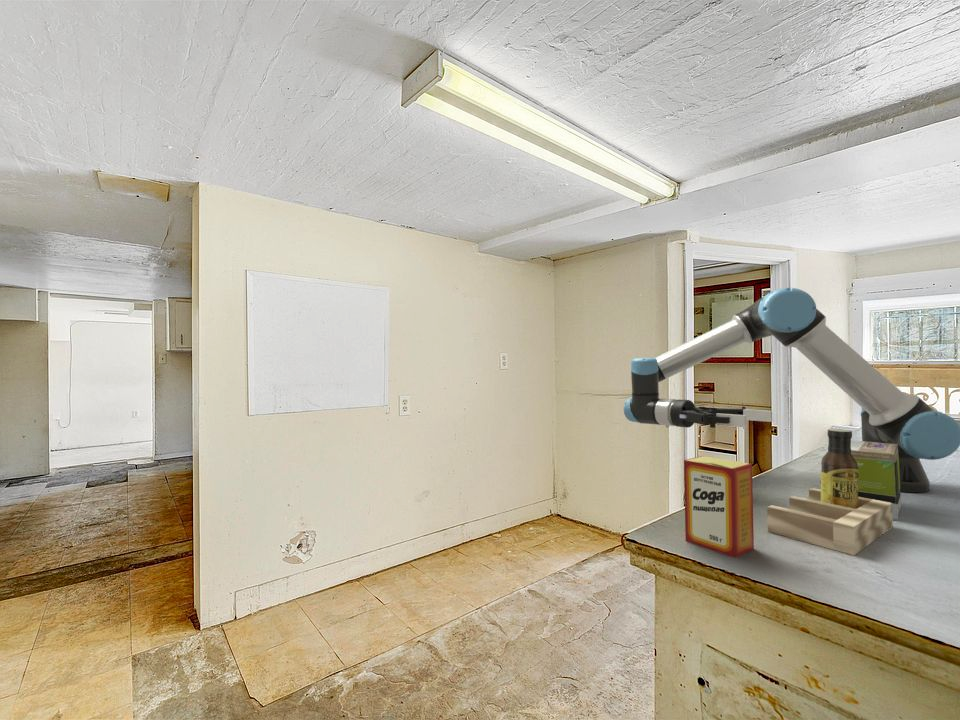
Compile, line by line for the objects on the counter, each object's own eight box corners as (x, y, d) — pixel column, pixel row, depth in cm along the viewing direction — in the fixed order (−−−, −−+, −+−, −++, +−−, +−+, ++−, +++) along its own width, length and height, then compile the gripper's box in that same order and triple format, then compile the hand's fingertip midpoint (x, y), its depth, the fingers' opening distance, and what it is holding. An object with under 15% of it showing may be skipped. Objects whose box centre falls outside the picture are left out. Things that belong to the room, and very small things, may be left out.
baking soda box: (685, 540, 87) (683, 458, 87) (703, 533, 90) (702, 454, 91) (735, 557, 79) (734, 466, 79) (753, 548, 82) (751, 462, 83)
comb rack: (812, 509, 104) (812, 488, 104) (892, 527, 92) (892, 502, 92) (767, 531, 91) (767, 506, 91) (854, 555, 79) (853, 526, 79)
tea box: (847, 497, 113) (845, 438, 113) (901, 505, 106) (900, 443, 106) (838, 511, 102) (837, 447, 103) (898, 522, 95) (896, 452, 95)
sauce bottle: (834, 529, 92) (832, 432, 92) (814, 518, 98) (811, 427, 98) (867, 529, 91) (865, 431, 91) (844, 518, 97) (842, 427, 98)
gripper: (700, 422, 131) (782, 429, 114) (650, 431, 117) (733, 440, 100) (699, 396, 131) (780, 399, 114) (649, 402, 117) (732, 406, 100)
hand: (759, 418), depth 107 cm, fingers open, 13 cm apart
